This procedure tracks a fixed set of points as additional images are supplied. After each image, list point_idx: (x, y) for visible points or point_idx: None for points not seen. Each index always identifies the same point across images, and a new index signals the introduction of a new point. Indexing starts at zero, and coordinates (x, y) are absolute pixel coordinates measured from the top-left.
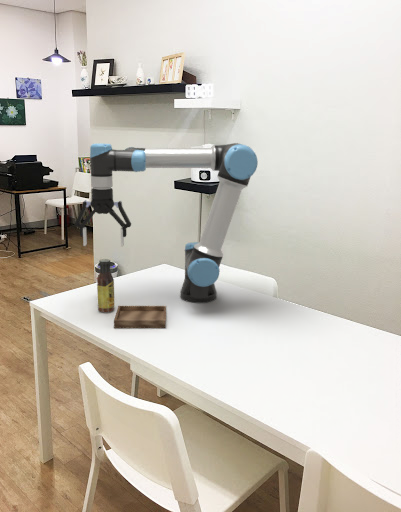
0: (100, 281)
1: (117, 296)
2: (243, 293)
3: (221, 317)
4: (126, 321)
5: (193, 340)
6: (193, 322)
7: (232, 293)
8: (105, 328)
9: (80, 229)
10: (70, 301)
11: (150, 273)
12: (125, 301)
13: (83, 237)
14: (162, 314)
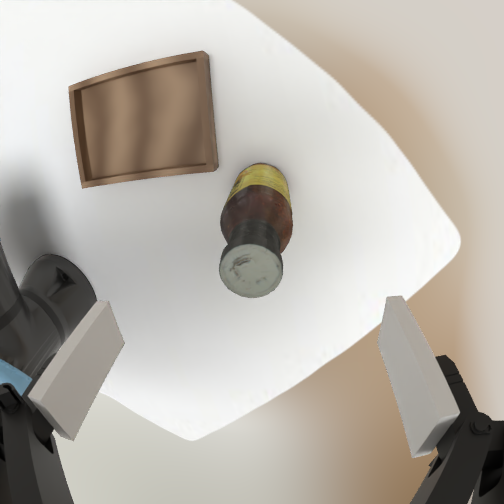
0: (272, 195)
1: None
2: None
3: (2, 179)
4: (165, 58)
5: (32, 48)
6: (35, 138)
7: None
8: (234, 52)
9: (470, 406)
10: (379, 252)
11: (206, 415)
12: (219, 259)
13: (425, 343)
14: (91, 153)
